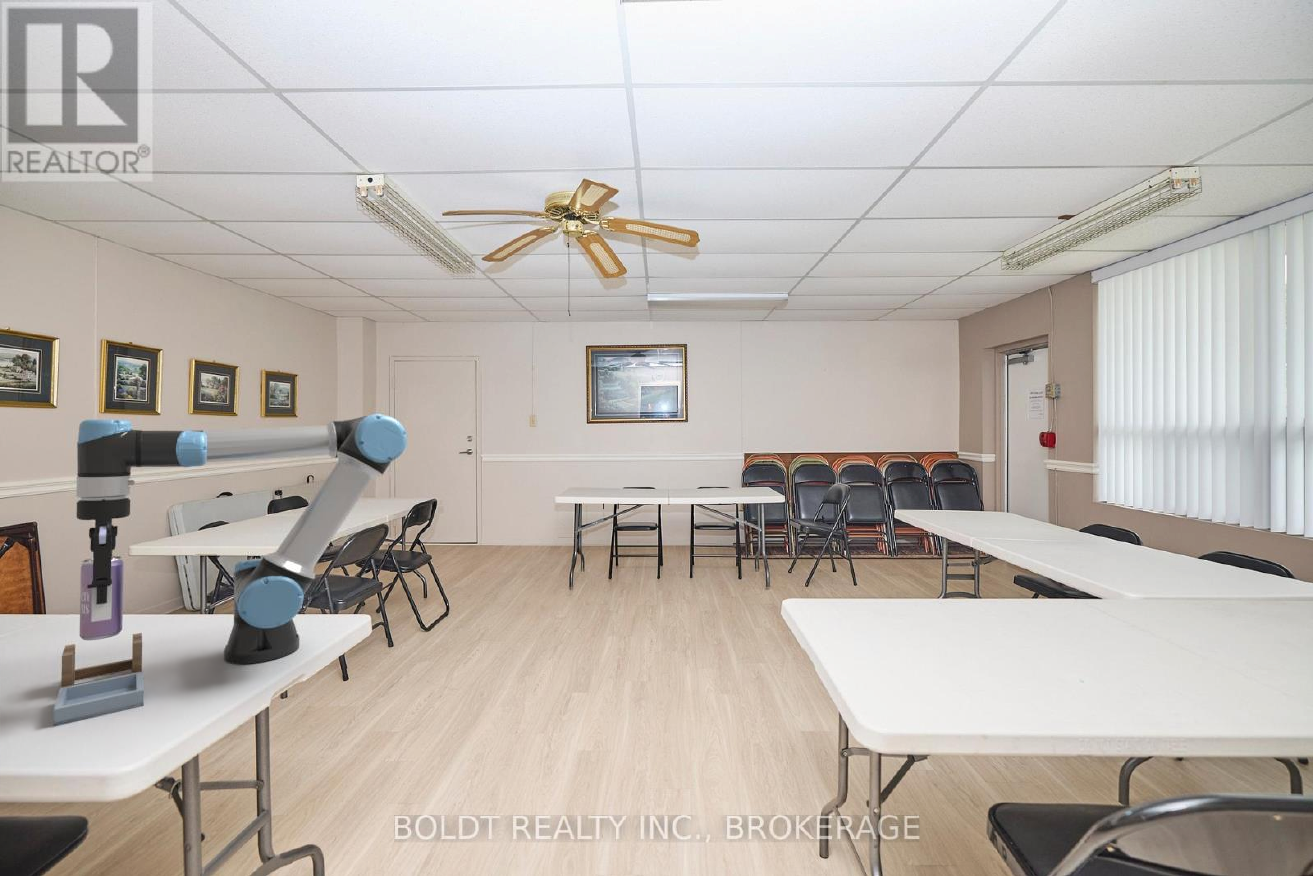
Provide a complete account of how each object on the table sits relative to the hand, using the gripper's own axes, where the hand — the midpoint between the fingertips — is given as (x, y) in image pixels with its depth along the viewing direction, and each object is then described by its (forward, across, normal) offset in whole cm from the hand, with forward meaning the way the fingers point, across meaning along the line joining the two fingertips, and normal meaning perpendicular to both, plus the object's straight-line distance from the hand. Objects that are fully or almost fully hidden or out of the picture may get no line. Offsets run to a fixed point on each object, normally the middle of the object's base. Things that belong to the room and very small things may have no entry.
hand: (102, 615), depth 110 cm
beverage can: (+4, 0, 0) cm, 4 cm away
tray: (+17, 0, 0) cm, 17 cm away
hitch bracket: (+17, +14, 0) cm, 23 cm away
